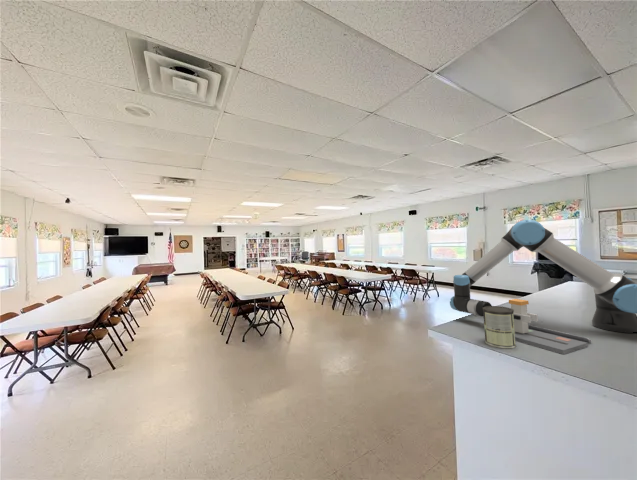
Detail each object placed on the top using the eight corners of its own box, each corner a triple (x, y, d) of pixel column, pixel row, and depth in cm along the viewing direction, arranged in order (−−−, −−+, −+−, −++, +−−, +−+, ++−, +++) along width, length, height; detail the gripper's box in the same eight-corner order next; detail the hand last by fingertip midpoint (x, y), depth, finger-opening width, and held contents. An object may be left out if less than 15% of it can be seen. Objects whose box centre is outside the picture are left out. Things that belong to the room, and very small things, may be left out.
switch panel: (491, 333, 116) (491, 330, 116) (514, 328, 121) (513, 325, 122) (563, 354, 91) (563, 350, 91) (587, 346, 97) (587, 342, 97)
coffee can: (479, 339, 109) (477, 306, 110) (505, 339, 108) (503, 305, 109) (493, 348, 99) (491, 311, 100) (522, 348, 98) (519, 311, 98)
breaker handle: (510, 330, 113) (508, 300, 114) (518, 329, 115) (515, 298, 115) (523, 334, 108) (521, 301, 109) (530, 332, 110) (528, 300, 111)
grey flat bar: (521, 329, 120) (520, 324, 120) (527, 327, 122) (526, 323, 122) (587, 345, 99) (586, 339, 99) (593, 343, 100) (592, 337, 101)
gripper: (492, 313, 132) (546, 325, 110) (468, 317, 125) (521, 331, 104) (491, 298, 132) (545, 307, 110) (467, 302, 126) (520, 312, 104)
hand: (533, 318), depth 107 cm, fingers closed on breaker handle, 4 cm apart
